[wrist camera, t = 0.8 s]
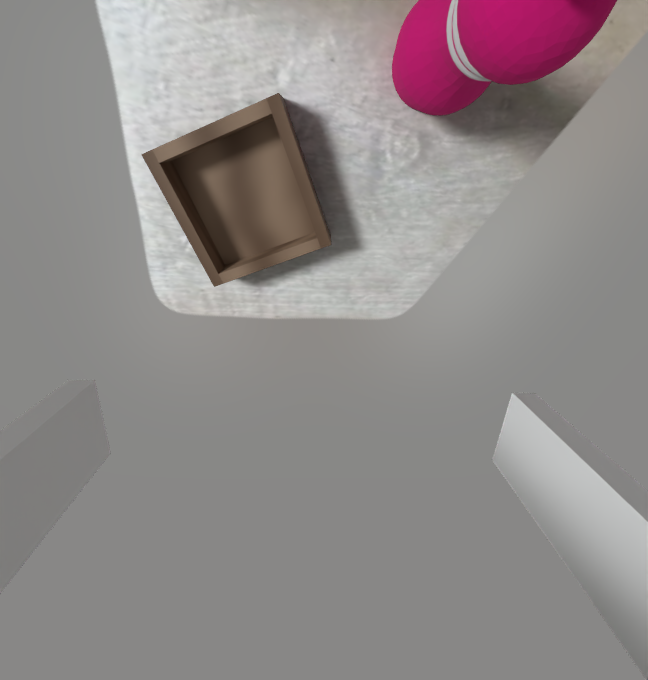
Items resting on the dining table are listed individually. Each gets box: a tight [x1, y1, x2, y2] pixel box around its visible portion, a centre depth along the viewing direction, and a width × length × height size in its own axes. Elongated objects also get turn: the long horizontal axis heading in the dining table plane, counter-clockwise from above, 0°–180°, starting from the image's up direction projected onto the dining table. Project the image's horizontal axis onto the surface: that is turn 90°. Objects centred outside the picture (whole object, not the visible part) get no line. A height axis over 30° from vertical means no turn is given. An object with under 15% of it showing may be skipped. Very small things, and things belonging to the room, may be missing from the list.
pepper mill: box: [392, 0, 617, 115], centre depth 19 cm, size 7×7×20 cm
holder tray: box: [142, 93, 331, 287], centre depth 31 cm, size 12×12×4 cm
